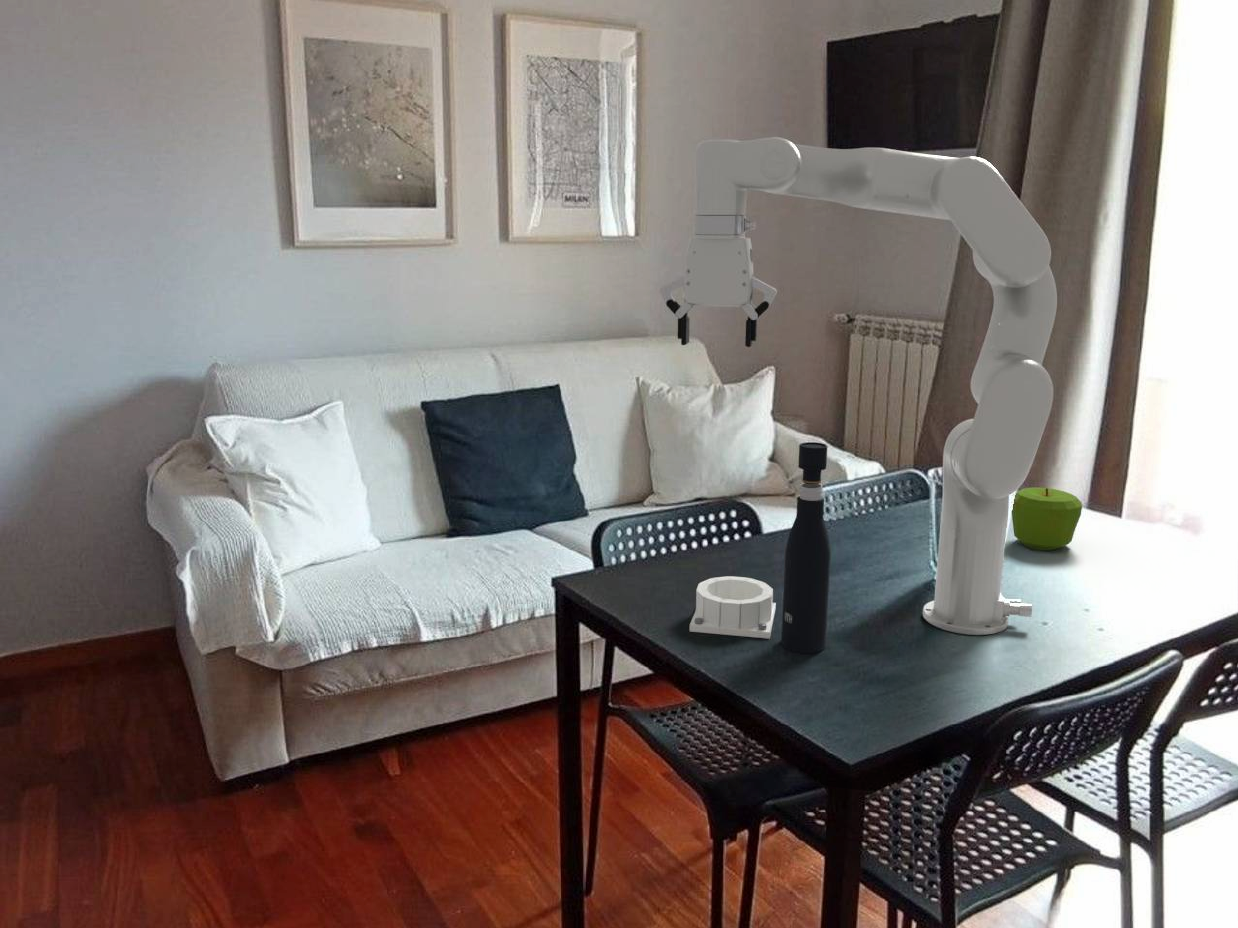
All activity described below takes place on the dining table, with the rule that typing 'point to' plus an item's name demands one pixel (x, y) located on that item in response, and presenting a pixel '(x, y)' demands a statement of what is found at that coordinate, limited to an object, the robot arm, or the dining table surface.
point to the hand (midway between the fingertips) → (716, 345)
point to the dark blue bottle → (807, 560)
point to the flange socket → (734, 607)
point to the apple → (1045, 517)
